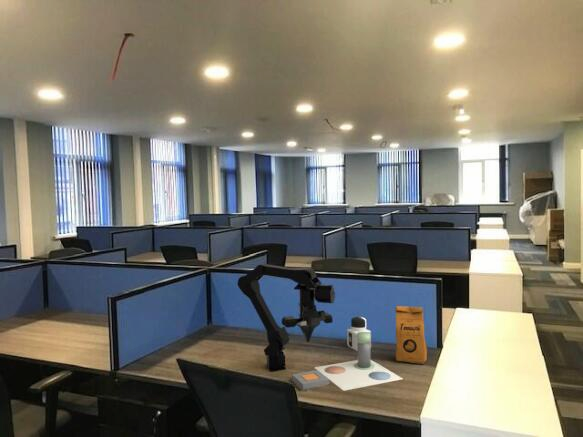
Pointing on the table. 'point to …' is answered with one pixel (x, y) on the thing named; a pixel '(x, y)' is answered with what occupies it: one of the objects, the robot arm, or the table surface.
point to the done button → (310, 377)
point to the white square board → (356, 374)
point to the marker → (363, 349)
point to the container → (356, 331)
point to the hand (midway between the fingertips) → (307, 342)
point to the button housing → (311, 383)
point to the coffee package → (410, 335)
